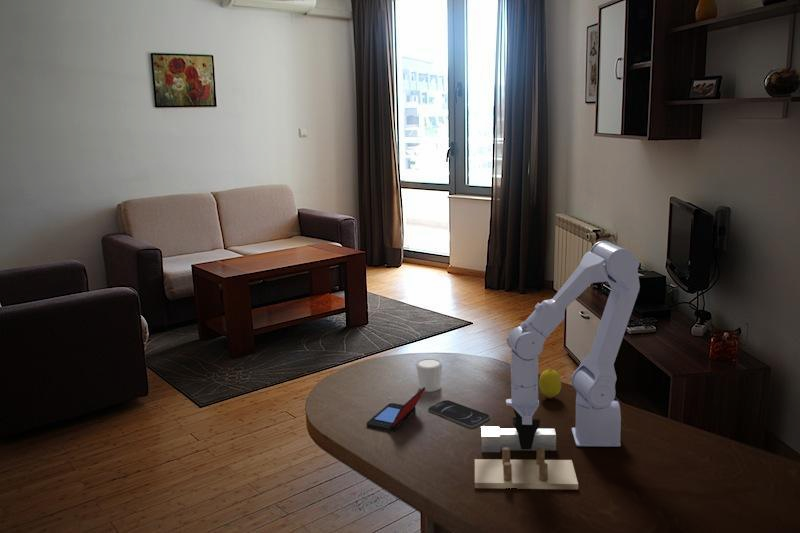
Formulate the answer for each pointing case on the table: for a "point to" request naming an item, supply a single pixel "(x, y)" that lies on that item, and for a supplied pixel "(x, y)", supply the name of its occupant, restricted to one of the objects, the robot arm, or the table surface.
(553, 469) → the peg cradle
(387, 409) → the handheld game console
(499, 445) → the bar
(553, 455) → the table surface
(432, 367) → the white cylinder
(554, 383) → the lemon
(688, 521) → the table surface
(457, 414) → the smartphone
